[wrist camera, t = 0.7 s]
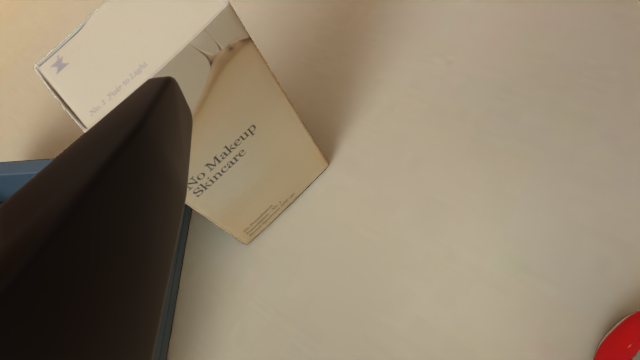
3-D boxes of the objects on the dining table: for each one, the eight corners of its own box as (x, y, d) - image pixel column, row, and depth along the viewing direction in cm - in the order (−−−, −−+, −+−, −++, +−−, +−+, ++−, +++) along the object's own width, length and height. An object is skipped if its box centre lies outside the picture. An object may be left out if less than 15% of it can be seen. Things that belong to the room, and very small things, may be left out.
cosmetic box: (247, 248, 25) (80, 145, 15) (201, 194, 27) (24, 69, 17) (334, 162, 26) (234, 1, 15) (281, 116, 28) (161, -56, 17)
